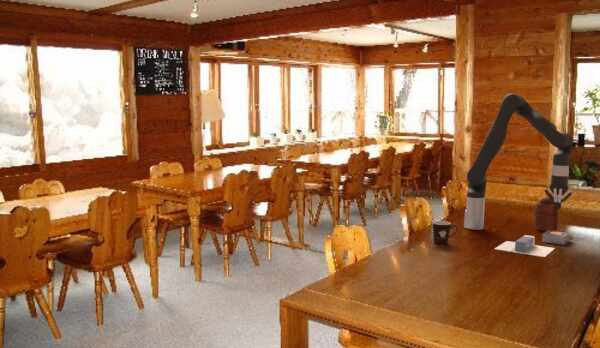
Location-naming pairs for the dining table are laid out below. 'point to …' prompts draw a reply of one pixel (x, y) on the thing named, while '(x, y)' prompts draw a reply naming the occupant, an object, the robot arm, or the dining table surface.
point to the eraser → (524, 243)
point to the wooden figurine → (546, 215)
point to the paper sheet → (534, 251)
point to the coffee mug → (442, 232)
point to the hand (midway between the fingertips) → (557, 209)
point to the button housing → (555, 237)
